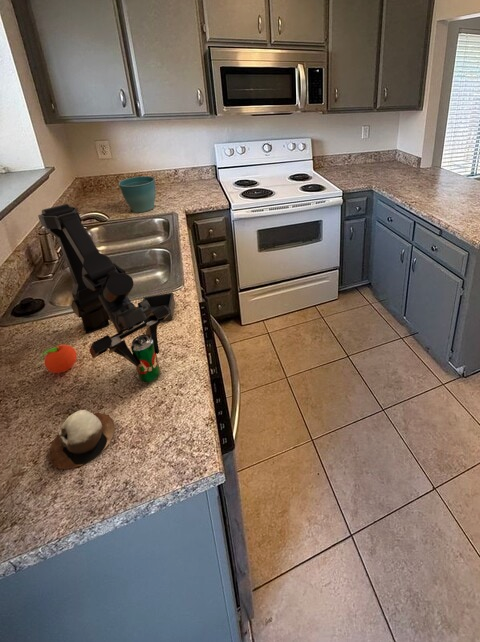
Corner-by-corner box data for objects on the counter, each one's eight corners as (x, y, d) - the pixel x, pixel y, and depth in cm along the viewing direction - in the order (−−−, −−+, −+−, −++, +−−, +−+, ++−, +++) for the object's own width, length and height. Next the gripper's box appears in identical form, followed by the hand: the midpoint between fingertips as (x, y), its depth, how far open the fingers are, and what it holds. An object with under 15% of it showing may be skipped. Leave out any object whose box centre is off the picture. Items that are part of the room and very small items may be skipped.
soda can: (154, 365, 97) (146, 330, 92) (164, 375, 94) (156, 339, 89) (135, 377, 93) (126, 341, 89) (145, 387, 90) (135, 350, 86)
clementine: (39, 382, 92) (30, 361, 89) (50, 362, 98) (42, 342, 96) (74, 375, 94) (67, 354, 91) (83, 356, 100) (76, 336, 98)
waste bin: (141, 325, 112) (138, 314, 111) (146, 307, 120) (143, 297, 119) (172, 319, 115) (170, 308, 113) (175, 303, 123) (173, 292, 121)
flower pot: (129, 218, 192) (122, 188, 186) (121, 208, 205) (115, 180, 199) (164, 209, 203) (158, 181, 197) (154, 201, 216) (149, 174, 210)
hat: (31, 450, 75) (57, 399, 77) (79, 442, 83) (101, 397, 86) (58, 481, 69) (85, 424, 71) (107, 470, 77) (130, 419, 80)
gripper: (81, 316, 80) (114, 377, 78) (160, 279, 94) (190, 331, 92) (77, 329, 87) (107, 385, 85) (151, 293, 101) (178, 341, 99)
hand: (148, 359), depth 90 cm, fingers closed on soda can, 5 cm apart
